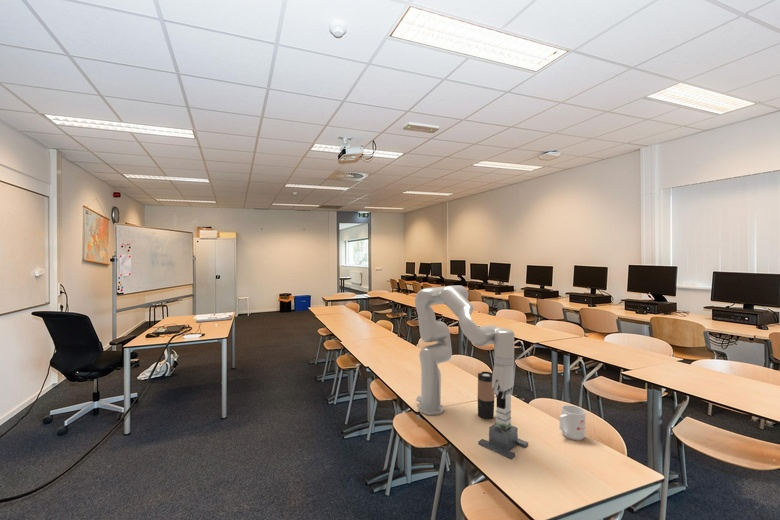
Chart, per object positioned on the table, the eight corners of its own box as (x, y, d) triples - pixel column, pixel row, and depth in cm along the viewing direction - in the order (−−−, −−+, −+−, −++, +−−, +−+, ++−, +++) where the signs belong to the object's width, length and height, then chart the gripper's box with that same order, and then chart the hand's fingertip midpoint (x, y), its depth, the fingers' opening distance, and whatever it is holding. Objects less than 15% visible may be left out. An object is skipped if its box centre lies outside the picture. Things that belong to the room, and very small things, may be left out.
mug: (571, 428, 149) (571, 403, 149) (590, 438, 141) (590, 412, 141) (551, 434, 144) (551, 408, 144) (569, 444, 136) (570, 417, 136)
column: (495, 429, 136) (496, 390, 136) (501, 426, 139) (501, 387, 139) (505, 433, 133) (506, 393, 133) (510, 430, 136) (511, 390, 136)
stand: (478, 444, 136) (478, 424, 136) (496, 432, 146) (496, 413, 146) (511, 459, 126) (511, 437, 126) (528, 445, 136) (528, 425, 136)
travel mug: (495, 420, 156) (495, 377, 156) (477, 419, 158) (478, 376, 158) (493, 413, 164) (493, 372, 164) (477, 411, 165) (477, 370, 165)
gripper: (505, 354, 144) (505, 397, 144) (484, 362, 133) (484, 409, 133) (522, 358, 139) (522, 403, 139) (502, 367, 127) (501, 415, 127)
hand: (503, 405), depth 136 cm, fingers closed on column, 4 cm apart
